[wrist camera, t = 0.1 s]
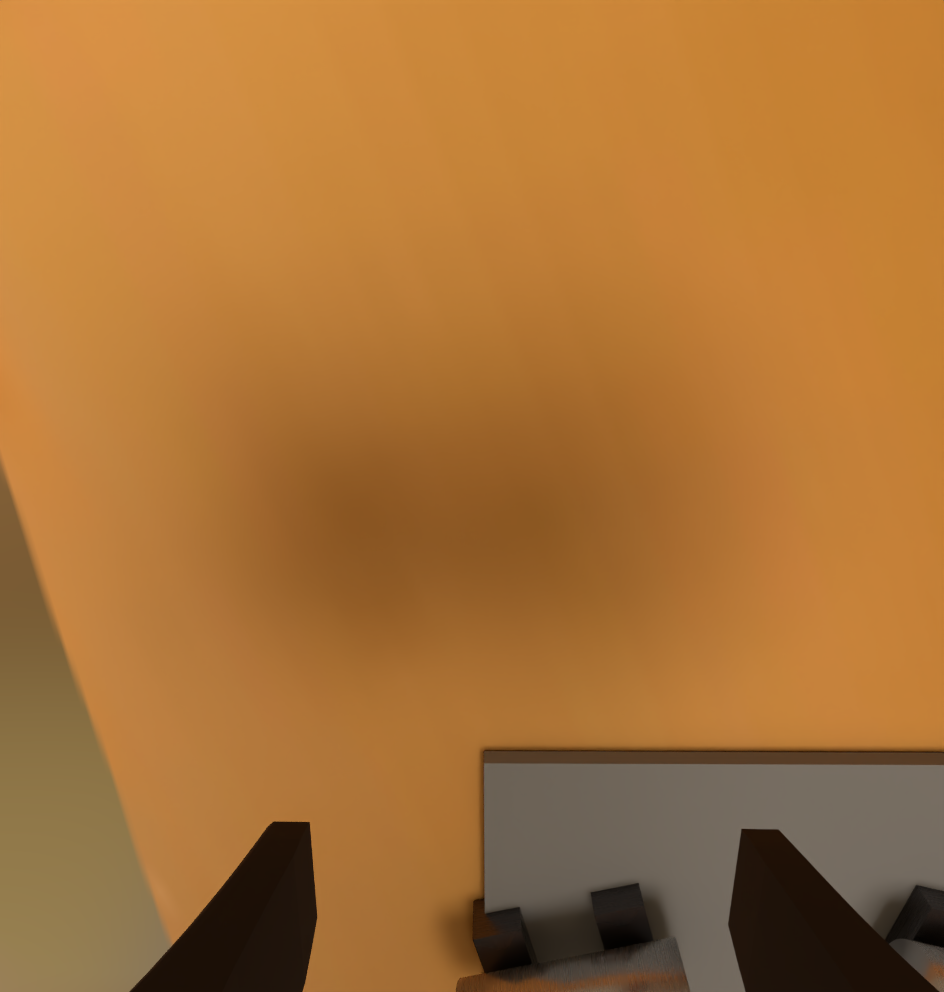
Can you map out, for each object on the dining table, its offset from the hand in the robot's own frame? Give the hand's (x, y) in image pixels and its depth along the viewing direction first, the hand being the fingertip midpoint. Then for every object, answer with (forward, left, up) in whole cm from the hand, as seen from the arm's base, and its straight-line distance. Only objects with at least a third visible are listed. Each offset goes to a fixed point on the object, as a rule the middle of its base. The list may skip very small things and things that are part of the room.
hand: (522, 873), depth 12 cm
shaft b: (-12, -2, -10) cm, 16 cm away
